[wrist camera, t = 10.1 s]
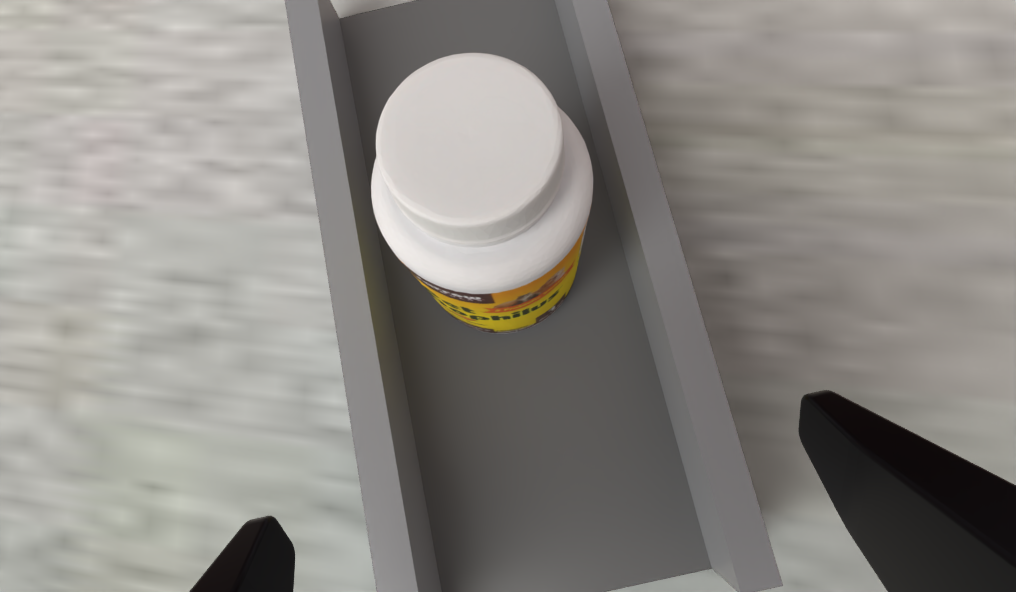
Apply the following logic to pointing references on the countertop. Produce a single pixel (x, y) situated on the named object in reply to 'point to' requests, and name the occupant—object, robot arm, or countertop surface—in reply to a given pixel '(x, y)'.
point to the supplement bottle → (483, 190)
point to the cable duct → (524, 340)
